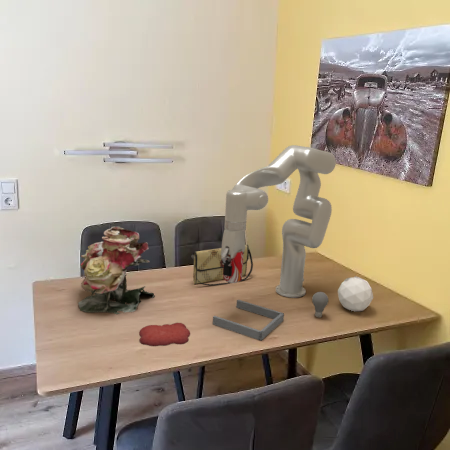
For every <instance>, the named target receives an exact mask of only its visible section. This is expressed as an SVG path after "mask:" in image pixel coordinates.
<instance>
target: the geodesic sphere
mask: <svg viewBox="0 0 450 450" xmlns="http://www.w3.org/2000/svg"><path fill="white" fill-rule="evenodd" d="M337 296H338V300H339V303H340V304H341V305H342V306H343V308H345V309H346V310H349V311H350V310H351V311H350V312H352V311H354V312H364V310H365V309H367V307H369V306H370V304H371V302H372V300H373V299H374V294H373V289H372V287H371V286H370V283H369V282H368V281H367V280H365V279H364V278H361V277H359V276H356V275H355V276H354V277H347V278H345V279H344V281H343V282H341V284H340V285H339V288H338V289H337Z"/></svg>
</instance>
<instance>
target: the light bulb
mask: <svg viewBox="0 0 450 450" xmlns="http://www.w3.org/2000/svg"><path fill="white" fill-rule="evenodd" d="M311 300H312V301H311V302H312V304H313V306H314V311H315V312H314V316H315V317H316V318H322V317H323V312H324V310H325V308H326V307H327V305H328V303H329V296H328V295H327V294H326V293H325V292H323V291H317V292H315V293H314V294H313V296H312V298H311Z"/></svg>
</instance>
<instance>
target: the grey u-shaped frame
mask: <svg viewBox="0 0 450 450" xmlns="http://www.w3.org/2000/svg"><path fill="white" fill-rule="evenodd" d="M235 307H236V308H237V309H240V310H243V311H246V312H250V313H252V314H257V315H260V316H262V317H266V318H269V319H272V320H271V321H269V323H268V324H267V325H265V326H264V327H263V328H262V329H261V330H260V329H256V328H253V327H250V326H248V325H244V324H242V323H238V322H236V321H235V322H234V321H232V320H229V319H226V318H223V317H221V316H220V317H219V316H216V315H213V316H212V325H213V326H217V327H220V328H222V329H225V330H228V331H232V332H234V333H236V334H237V333H238V334H241V335H242V336H246V337H248V338H252V339H255V340H257V341H263V340H264V339H266V337H267V336H269V334H270V333H272V332H273V331H274V330H275V329H276V328H277V327H278V326H279V325H281V324H282V322H283V321H284V319H285V317H284V316H285V313H283V312H281V311H278V310H274V309H270V308H267V307H265V306H261V305H258V304H254V303H251V302H248V301H244V300H241V299H236V306H235Z"/></svg>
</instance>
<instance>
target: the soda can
mask: <svg viewBox="0 0 450 450" xmlns="http://www.w3.org/2000/svg"><path fill="white" fill-rule="evenodd" d="M227 256H228V257H231V255H227ZM227 260H228V261H230V259H228V258H227ZM231 266H232V276H231V277H230V276H226V275H223V279H222V280H224V281H225V283H230V284H237V283H240V282H242V281H241V280H242V279H243V276H242V273H243V252H242V250H241V251H239V252H237V254H236V256H235V258H233V260H232V264H231ZM223 267H224V265H223ZM239 281H240V282H239Z"/></svg>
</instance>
